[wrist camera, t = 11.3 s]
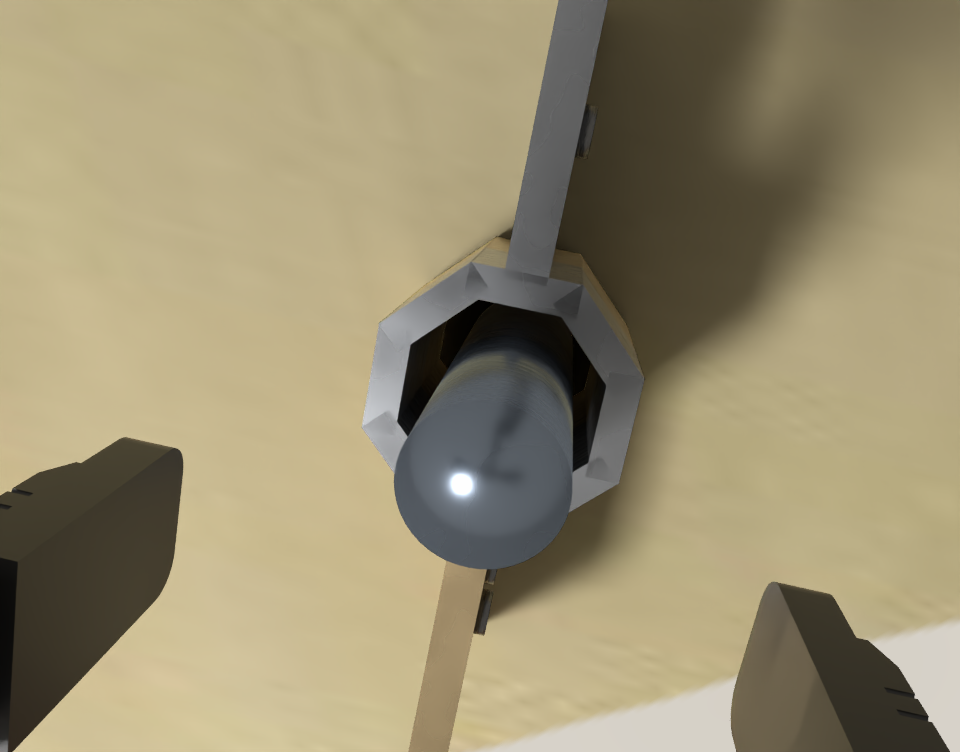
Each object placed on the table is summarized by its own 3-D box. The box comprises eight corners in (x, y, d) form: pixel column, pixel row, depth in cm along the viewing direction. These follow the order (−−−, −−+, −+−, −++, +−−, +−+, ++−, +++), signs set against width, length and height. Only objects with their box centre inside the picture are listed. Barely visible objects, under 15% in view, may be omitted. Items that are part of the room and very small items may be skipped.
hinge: (480, -15, 25) (445, -80, 18) (697, 26, 25) (744, -24, 18) (369, 606, 30) (310, 735, 23) (550, 647, 30) (543, 790, 23)
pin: (533, 275, 27) (502, 364, 15) (593, 360, 27) (607, 510, 16) (449, 335, 28) (358, 464, 16) (509, 417, 28) (463, 600, 16)
